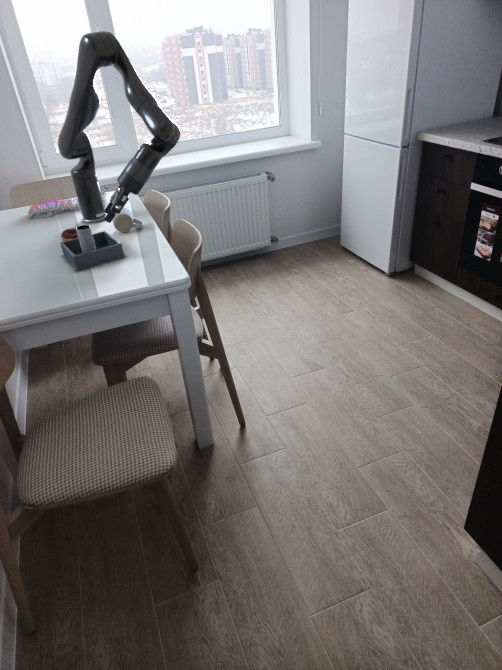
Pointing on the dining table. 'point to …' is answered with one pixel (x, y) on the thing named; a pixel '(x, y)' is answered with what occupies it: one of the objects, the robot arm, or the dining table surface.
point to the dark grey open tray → (104, 252)
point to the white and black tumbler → (85, 238)
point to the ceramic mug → (125, 221)
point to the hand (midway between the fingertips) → (106, 217)
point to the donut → (69, 234)
